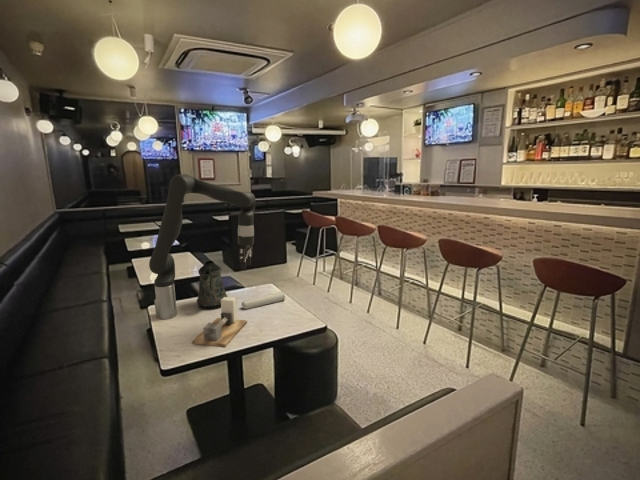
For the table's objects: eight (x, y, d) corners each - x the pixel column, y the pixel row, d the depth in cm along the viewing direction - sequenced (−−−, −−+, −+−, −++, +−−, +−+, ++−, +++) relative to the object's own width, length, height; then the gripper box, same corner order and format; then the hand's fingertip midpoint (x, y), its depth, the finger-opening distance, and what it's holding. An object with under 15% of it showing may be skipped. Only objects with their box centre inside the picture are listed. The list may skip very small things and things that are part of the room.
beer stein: (222, 296, 211) (220, 256, 206) (233, 307, 195) (231, 264, 190) (194, 302, 203) (190, 260, 198) (202, 314, 187) (199, 269, 182)
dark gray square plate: (221, 323, 172) (220, 313, 171) (222, 322, 174) (221, 312, 172) (231, 324, 172) (230, 314, 170) (232, 323, 173) (231, 313, 172)
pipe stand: (192, 343, 157) (191, 328, 156) (217, 320, 180) (216, 306, 179) (226, 346, 154) (225, 331, 153) (247, 322, 177) (246, 309, 176)
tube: (244, 304, 190) (285, 295, 204) (240, 298, 194) (281, 289, 207) (243, 312, 193) (284, 302, 206) (239, 306, 196) (280, 297, 210)
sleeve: (222, 321, 175) (220, 300, 172) (225, 318, 178) (224, 297, 176) (234, 322, 173) (233, 300, 171) (237, 319, 177) (236, 297, 175)
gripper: (242, 231, 176) (242, 263, 179) (233, 236, 162) (233, 270, 165) (257, 232, 176) (257, 264, 179) (249, 237, 162) (249, 271, 165)
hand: (245, 267), depth 172 cm, fingers open, 8 cm apart
